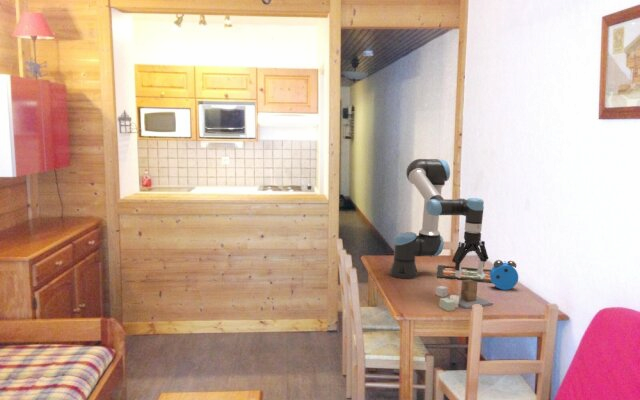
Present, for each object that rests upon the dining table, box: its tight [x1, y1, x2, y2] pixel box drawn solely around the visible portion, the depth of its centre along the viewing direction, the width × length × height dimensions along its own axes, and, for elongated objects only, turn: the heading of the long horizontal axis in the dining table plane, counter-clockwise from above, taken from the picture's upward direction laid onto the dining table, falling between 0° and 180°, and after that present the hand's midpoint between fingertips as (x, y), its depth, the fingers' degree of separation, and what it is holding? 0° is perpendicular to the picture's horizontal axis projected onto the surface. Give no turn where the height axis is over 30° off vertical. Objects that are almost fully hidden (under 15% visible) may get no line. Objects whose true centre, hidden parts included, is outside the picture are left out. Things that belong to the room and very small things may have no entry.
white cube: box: [435, 285, 448, 298], centre depth 263 cm, size 4×4×4 cm
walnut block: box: [460, 280, 478, 302], centre depth 253 cm, size 5×5×9 cm
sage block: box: [438, 297, 456, 312], centre depth 243 cm, size 6×4×4 cm, turn 23°
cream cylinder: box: [449, 294, 460, 309], centre depth 246 cm, size 4×4×5 cm
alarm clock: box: [490, 259, 519, 291], centre depth 277 cm, size 13×6×15 cm, turn 85°
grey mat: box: [442, 293, 494, 310], centre depth 254 cm, size 16×16×1 cm
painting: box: [436, 264, 493, 284], centre depth 303 cm, size 28×35×2 cm
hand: (469, 275), depth 253 cm, fingers open, 13 cm apart
